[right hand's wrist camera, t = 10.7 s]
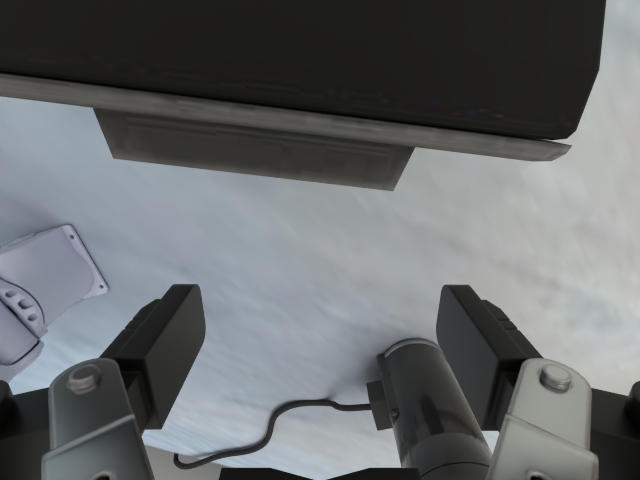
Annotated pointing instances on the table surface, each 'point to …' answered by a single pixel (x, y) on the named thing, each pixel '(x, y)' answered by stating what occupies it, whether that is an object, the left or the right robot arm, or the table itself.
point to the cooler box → (310, 79)
